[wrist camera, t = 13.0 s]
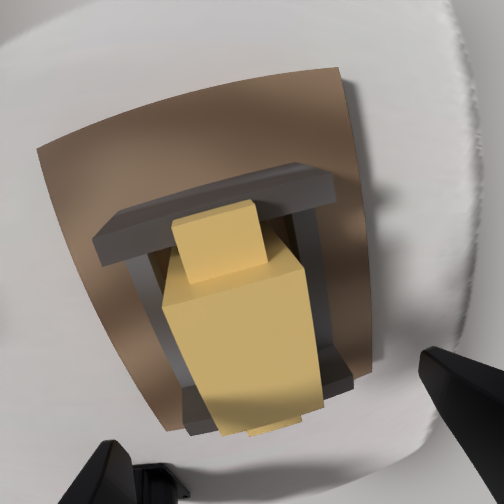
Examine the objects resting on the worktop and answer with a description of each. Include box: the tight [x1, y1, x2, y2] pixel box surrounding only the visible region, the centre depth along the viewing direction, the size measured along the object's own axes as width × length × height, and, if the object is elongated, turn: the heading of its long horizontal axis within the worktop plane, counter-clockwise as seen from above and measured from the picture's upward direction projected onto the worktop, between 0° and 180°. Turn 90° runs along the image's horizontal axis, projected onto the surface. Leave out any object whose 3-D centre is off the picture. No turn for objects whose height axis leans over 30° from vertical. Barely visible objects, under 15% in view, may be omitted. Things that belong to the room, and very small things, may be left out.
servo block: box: [162, 199, 324, 437], centre depth 12 cm, size 10×4×6 cm, turn 13°
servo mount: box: [37, 67, 372, 436], centre depth 14 cm, size 18×14×6 cm
